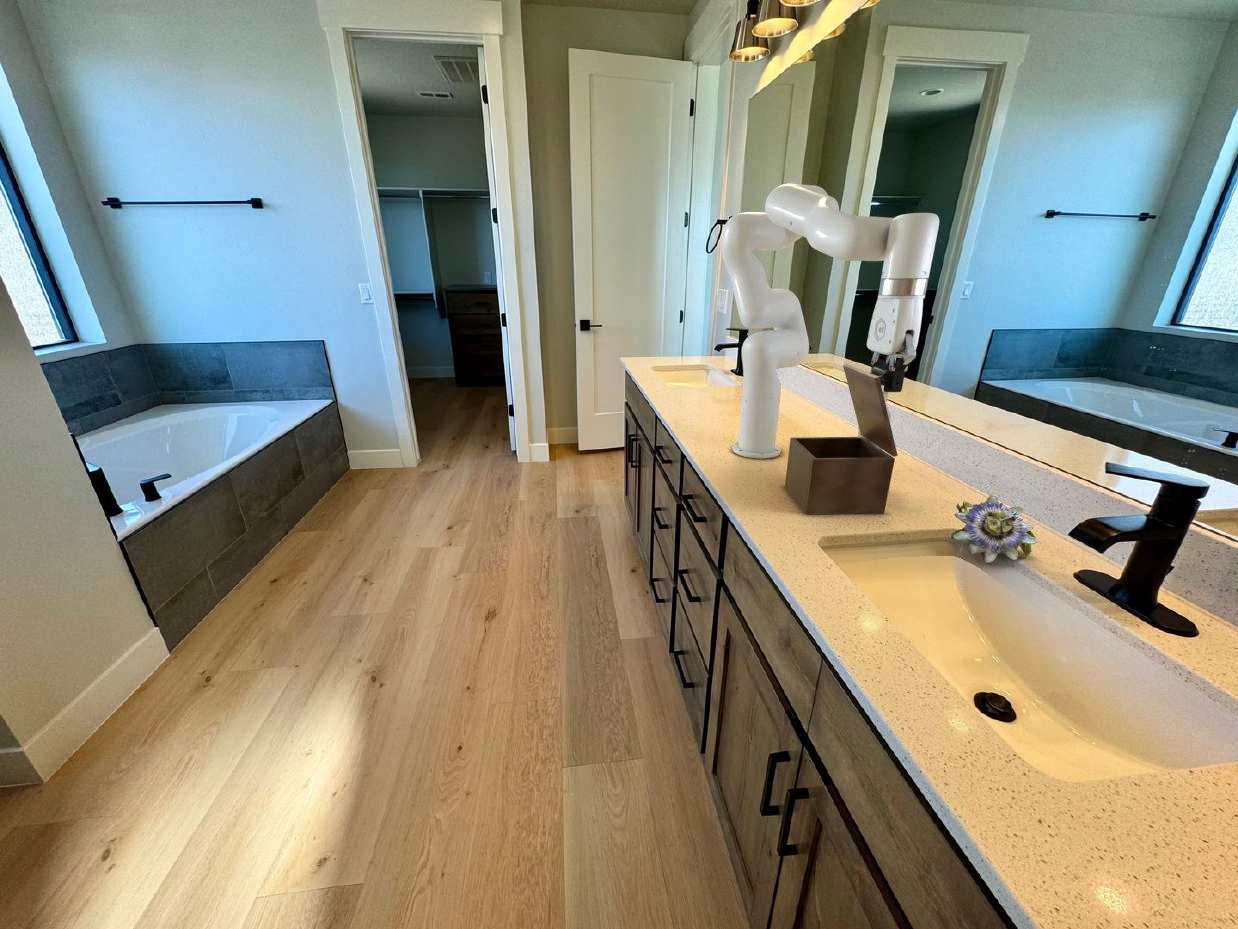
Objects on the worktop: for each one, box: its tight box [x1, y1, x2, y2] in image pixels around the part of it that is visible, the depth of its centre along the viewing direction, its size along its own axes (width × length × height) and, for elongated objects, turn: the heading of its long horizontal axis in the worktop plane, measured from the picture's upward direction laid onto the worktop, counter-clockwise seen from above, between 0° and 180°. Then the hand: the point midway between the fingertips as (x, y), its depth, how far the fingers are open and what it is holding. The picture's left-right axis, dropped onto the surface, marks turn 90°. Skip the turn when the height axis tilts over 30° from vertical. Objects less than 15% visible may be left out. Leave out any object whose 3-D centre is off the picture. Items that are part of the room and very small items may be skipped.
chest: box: [784, 436, 896, 516], centre depth 102 cm, size 16×14×12 cm
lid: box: [842, 363, 899, 458], centre depth 97 cm, size 16×14×5 cm
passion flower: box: [950, 493, 1038, 564], centre depth 83 cm, size 11×11×12 cm
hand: (884, 387), depth 96 cm, fingers closed on lid, 5 cm apart
